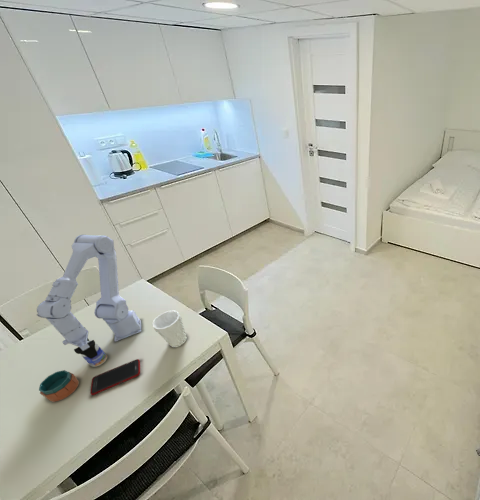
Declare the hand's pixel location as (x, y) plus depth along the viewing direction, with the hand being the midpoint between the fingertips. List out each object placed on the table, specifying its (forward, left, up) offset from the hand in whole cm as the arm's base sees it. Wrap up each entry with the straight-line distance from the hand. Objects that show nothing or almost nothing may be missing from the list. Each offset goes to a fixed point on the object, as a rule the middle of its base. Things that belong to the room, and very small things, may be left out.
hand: (90, 351), depth 107 cm
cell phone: (-6, +12, -6) cm, 15 cm away
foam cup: (-27, +7, -6) cm, 29 cm away
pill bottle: (0, 0, -6) cm, 6 cm away
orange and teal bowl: (+10, +7, -6) cm, 14 cm away
